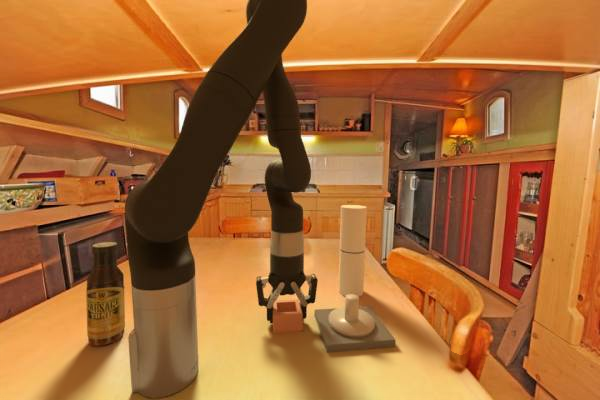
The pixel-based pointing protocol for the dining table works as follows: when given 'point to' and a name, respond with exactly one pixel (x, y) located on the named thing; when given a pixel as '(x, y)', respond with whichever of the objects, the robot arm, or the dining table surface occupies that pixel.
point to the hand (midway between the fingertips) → (286, 320)
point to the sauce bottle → (105, 296)
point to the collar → (287, 316)
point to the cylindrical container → (352, 249)
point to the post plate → (352, 327)
